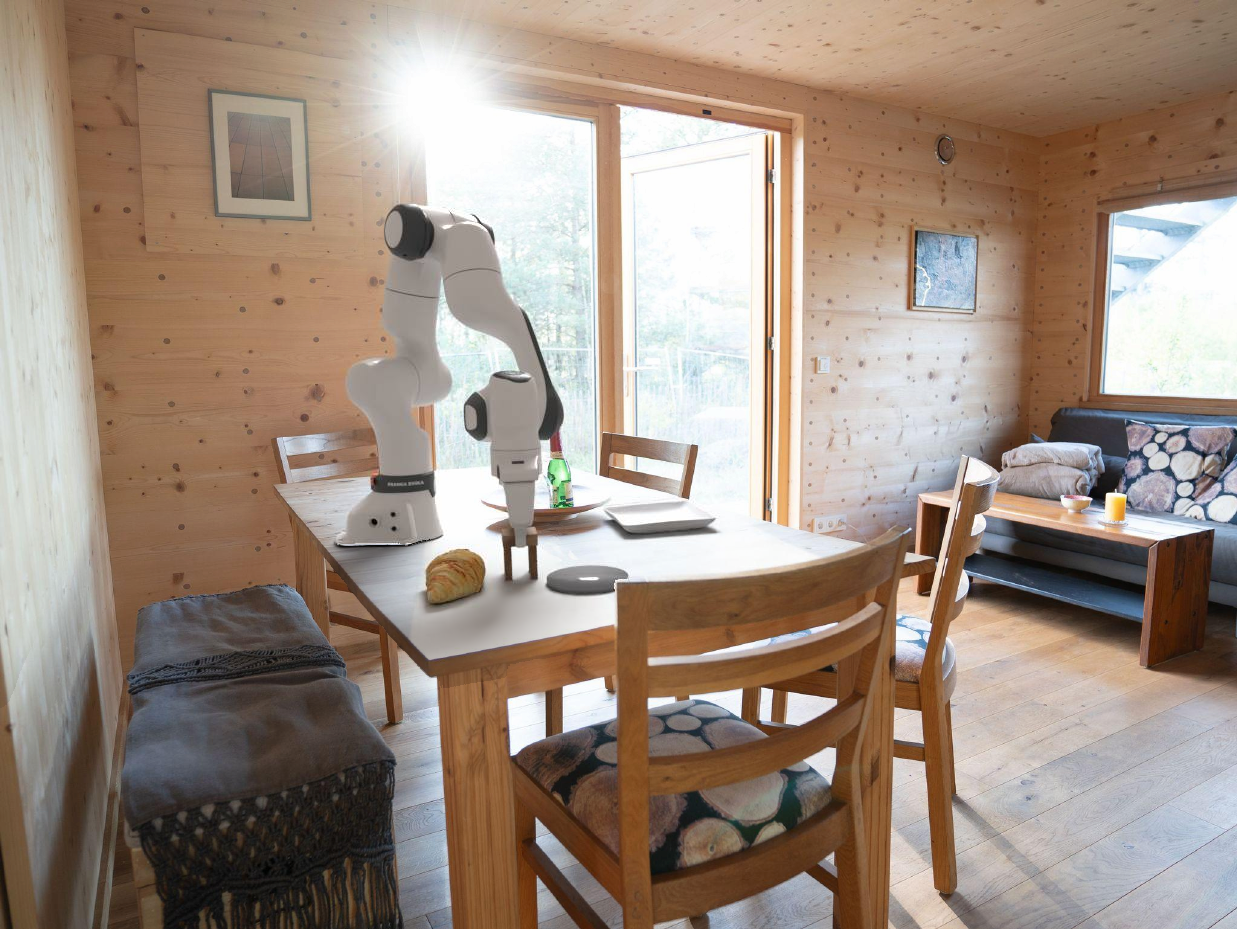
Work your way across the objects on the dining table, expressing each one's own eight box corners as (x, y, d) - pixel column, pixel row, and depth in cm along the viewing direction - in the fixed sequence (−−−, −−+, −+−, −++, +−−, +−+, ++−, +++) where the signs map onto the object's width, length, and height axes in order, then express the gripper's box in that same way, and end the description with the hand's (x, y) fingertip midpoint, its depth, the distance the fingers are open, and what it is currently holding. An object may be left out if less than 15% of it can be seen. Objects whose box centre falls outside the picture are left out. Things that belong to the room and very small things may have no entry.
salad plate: (624, 539, 171) (623, 523, 170) (602, 520, 191) (601, 506, 191) (718, 532, 176) (718, 516, 175) (687, 513, 196) (687, 500, 196)
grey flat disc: (550, 596, 131) (550, 590, 131) (543, 573, 144) (543, 568, 144) (635, 590, 133) (635, 584, 133) (620, 568, 147) (620, 563, 147)
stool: (504, 581, 140) (502, 536, 139) (503, 572, 146) (501, 528, 145) (539, 578, 141) (537, 534, 140) (536, 569, 147) (534, 526, 146)
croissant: (452, 630, 126) (472, 587, 125) (395, 600, 127) (415, 557, 125) (490, 588, 147) (508, 550, 145) (442, 562, 148) (459, 525, 146)
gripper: (496, 457, 150) (499, 530, 152) (500, 473, 131) (503, 556, 132) (530, 456, 152) (533, 528, 153) (539, 471, 132) (542, 554, 134)
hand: (519, 541), depth 143 cm, fingers closed on stool, 6 cm apart
